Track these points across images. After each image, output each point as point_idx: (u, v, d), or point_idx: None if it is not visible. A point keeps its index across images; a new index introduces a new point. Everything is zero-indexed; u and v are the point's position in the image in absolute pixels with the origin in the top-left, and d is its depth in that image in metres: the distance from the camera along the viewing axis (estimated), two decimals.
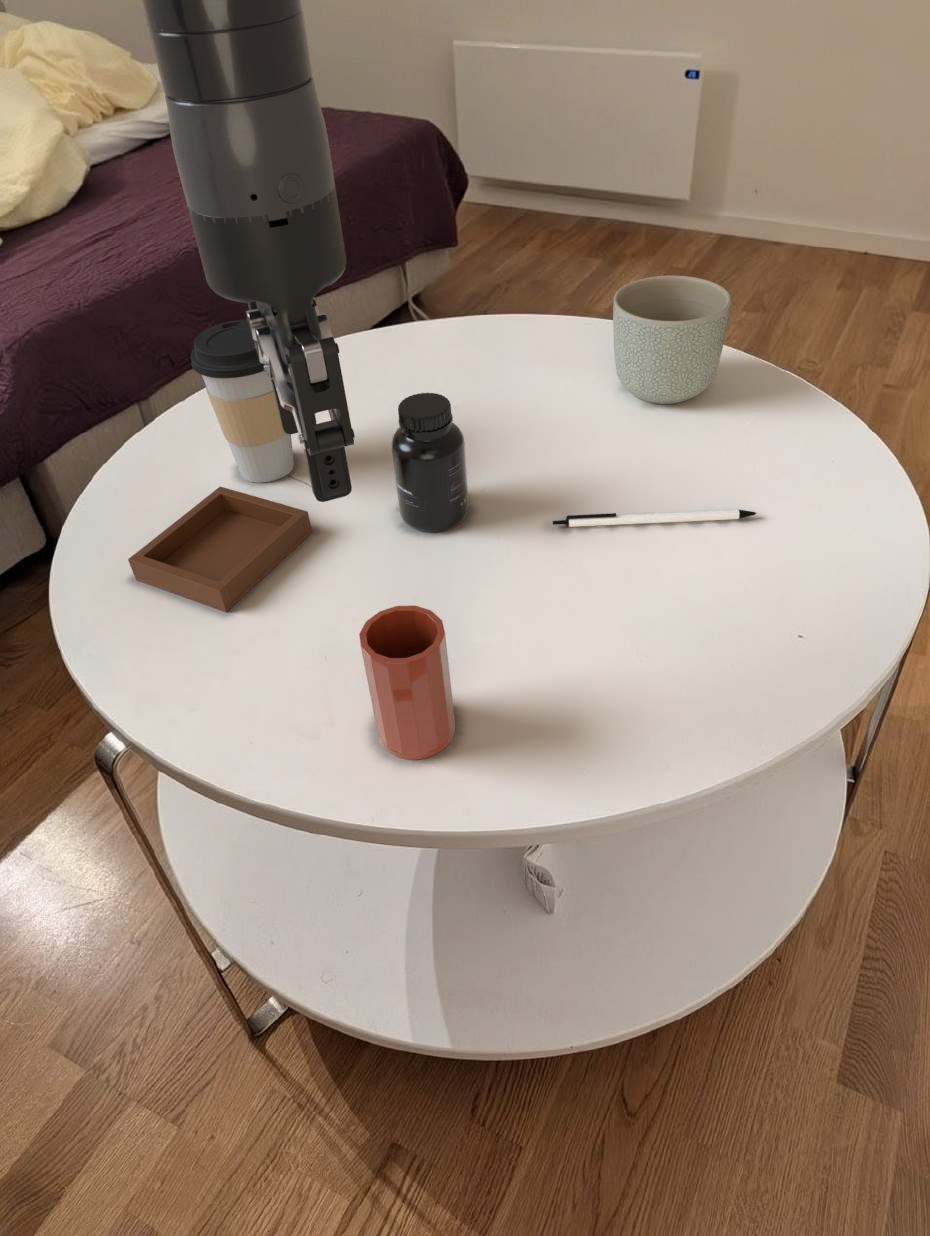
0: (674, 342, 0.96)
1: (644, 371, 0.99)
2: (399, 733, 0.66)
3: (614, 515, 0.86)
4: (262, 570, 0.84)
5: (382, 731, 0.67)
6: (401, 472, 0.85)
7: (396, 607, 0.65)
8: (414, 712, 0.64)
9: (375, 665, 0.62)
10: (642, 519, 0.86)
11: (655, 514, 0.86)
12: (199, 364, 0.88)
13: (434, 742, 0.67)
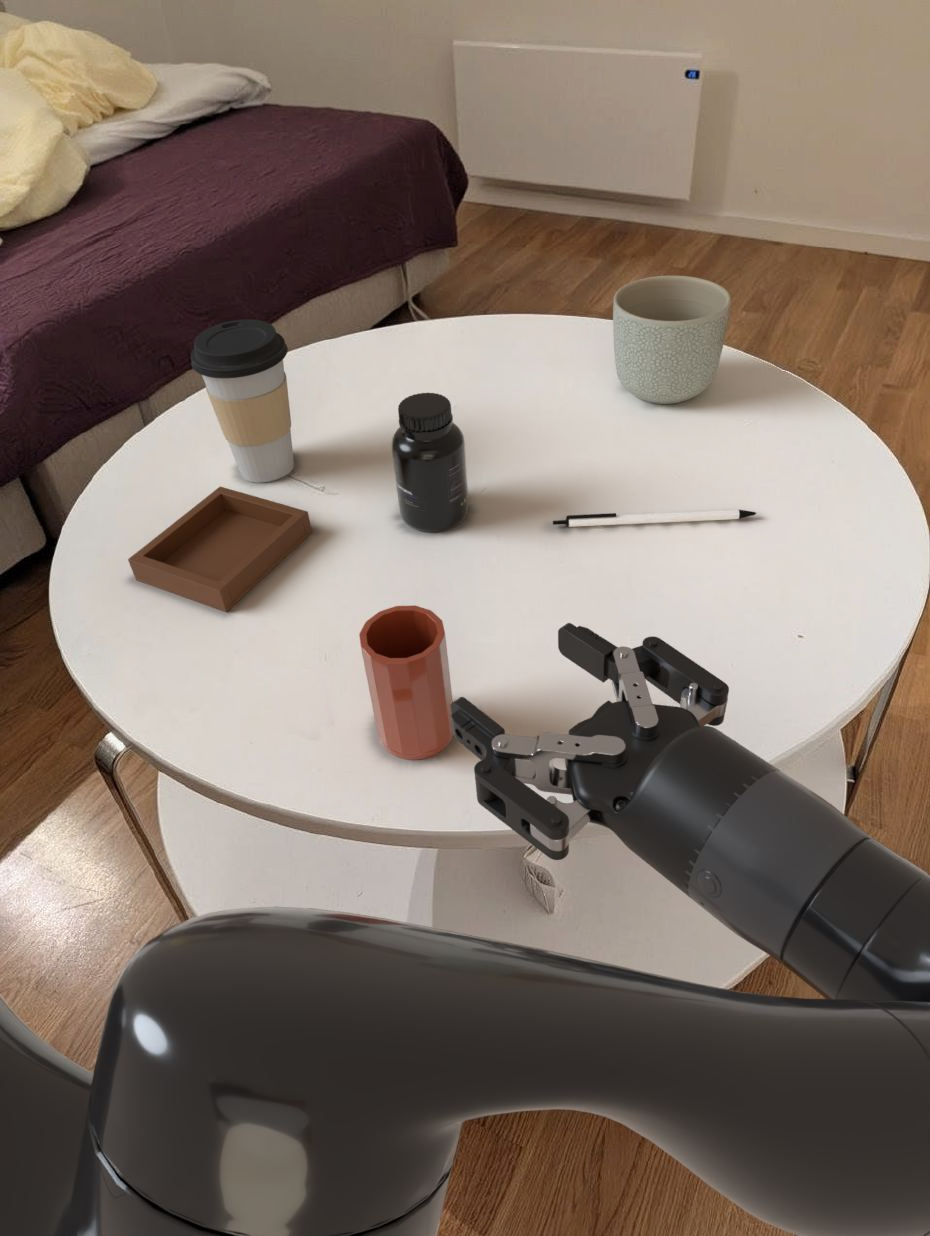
0: (674, 342, 0.96)
1: (644, 371, 0.99)
2: (399, 733, 0.66)
3: (614, 515, 0.86)
4: (262, 570, 0.84)
5: (382, 731, 0.67)
6: (401, 472, 0.85)
7: (396, 607, 0.65)
8: (414, 712, 0.64)
9: (375, 665, 0.62)
10: (642, 519, 0.86)
11: (655, 514, 0.86)
12: (199, 364, 0.88)
13: (434, 742, 0.67)
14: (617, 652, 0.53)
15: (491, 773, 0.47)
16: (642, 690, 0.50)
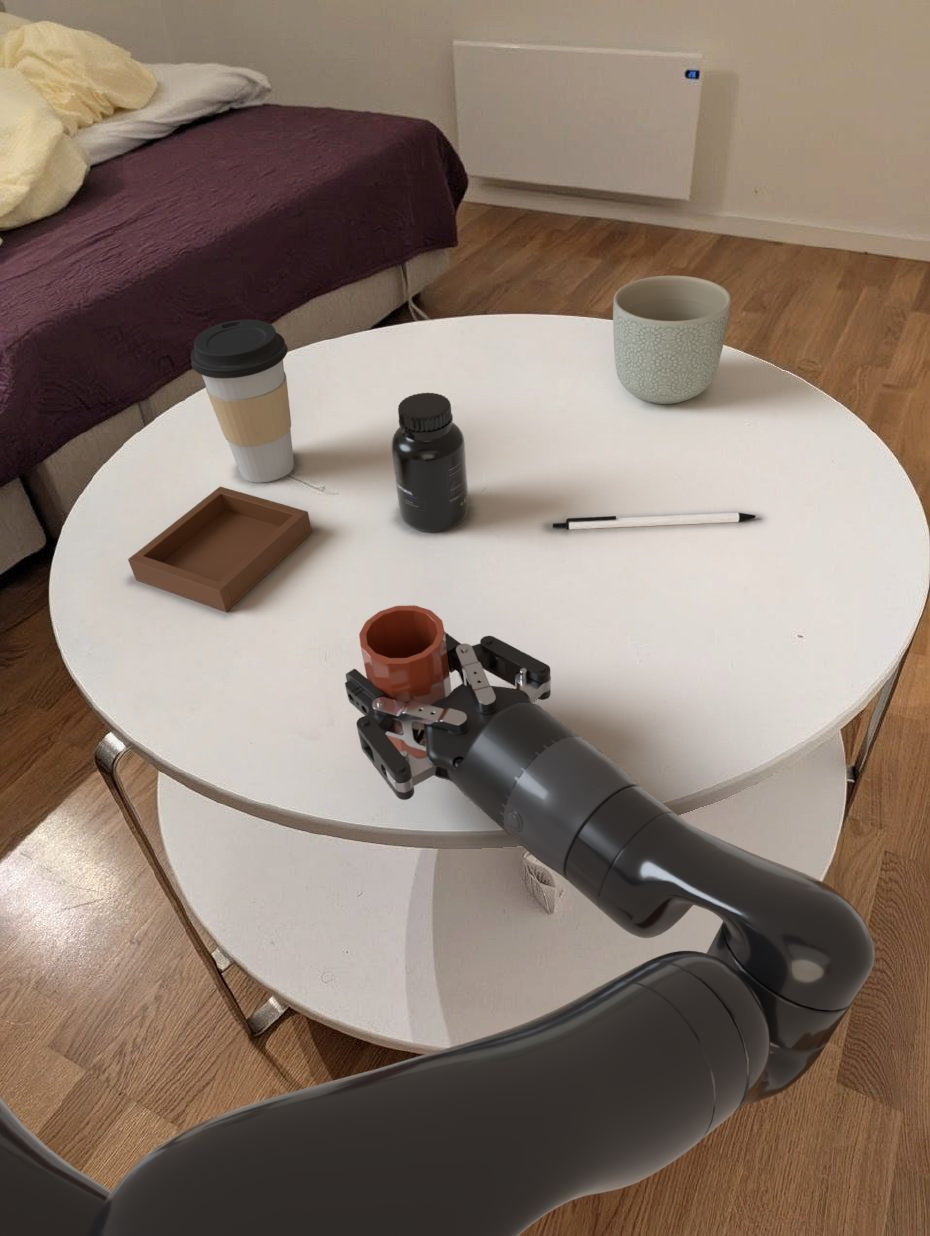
0: (674, 342, 0.96)
1: (644, 371, 0.99)
2: None
3: (614, 518, 0.86)
4: (262, 570, 0.84)
5: None
6: (401, 472, 0.85)
7: (396, 607, 0.65)
8: None
9: (375, 665, 0.62)
10: (642, 522, 0.86)
11: (654, 517, 0.86)
12: (199, 364, 0.88)
13: None
14: (459, 648, 0.65)
15: (369, 726, 0.60)
16: (481, 676, 0.63)
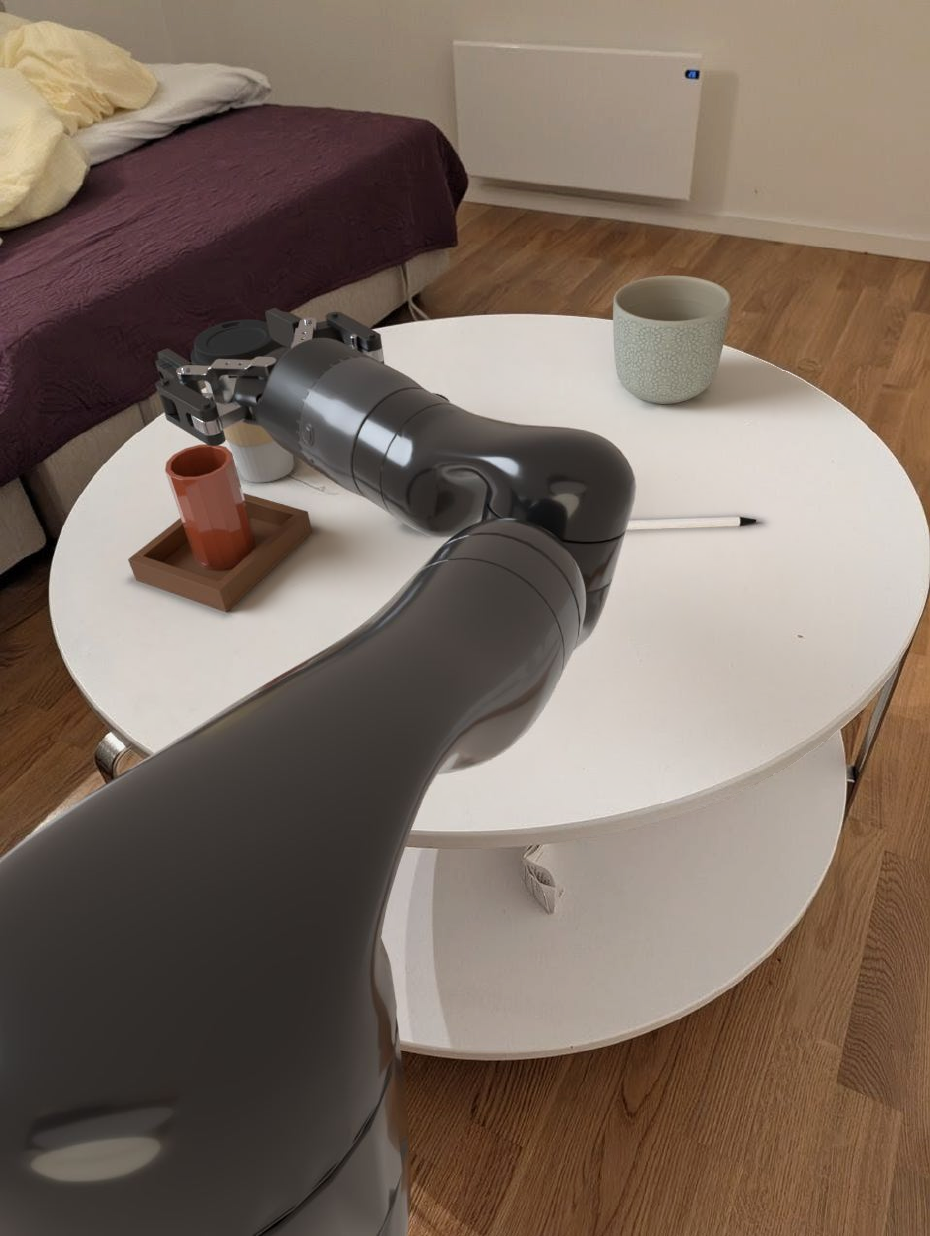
0: (674, 342, 0.96)
1: (644, 371, 0.99)
2: (203, 545, 0.83)
3: None
4: (262, 570, 0.84)
5: (192, 547, 0.85)
6: None
7: (199, 445, 0.83)
8: (211, 526, 0.82)
9: (175, 483, 0.80)
10: (642, 525, 0.86)
11: (655, 521, 0.86)
12: (199, 364, 0.88)
13: (233, 555, 0.85)
14: (303, 320, 0.63)
15: (168, 384, 0.58)
16: (307, 335, 0.60)
